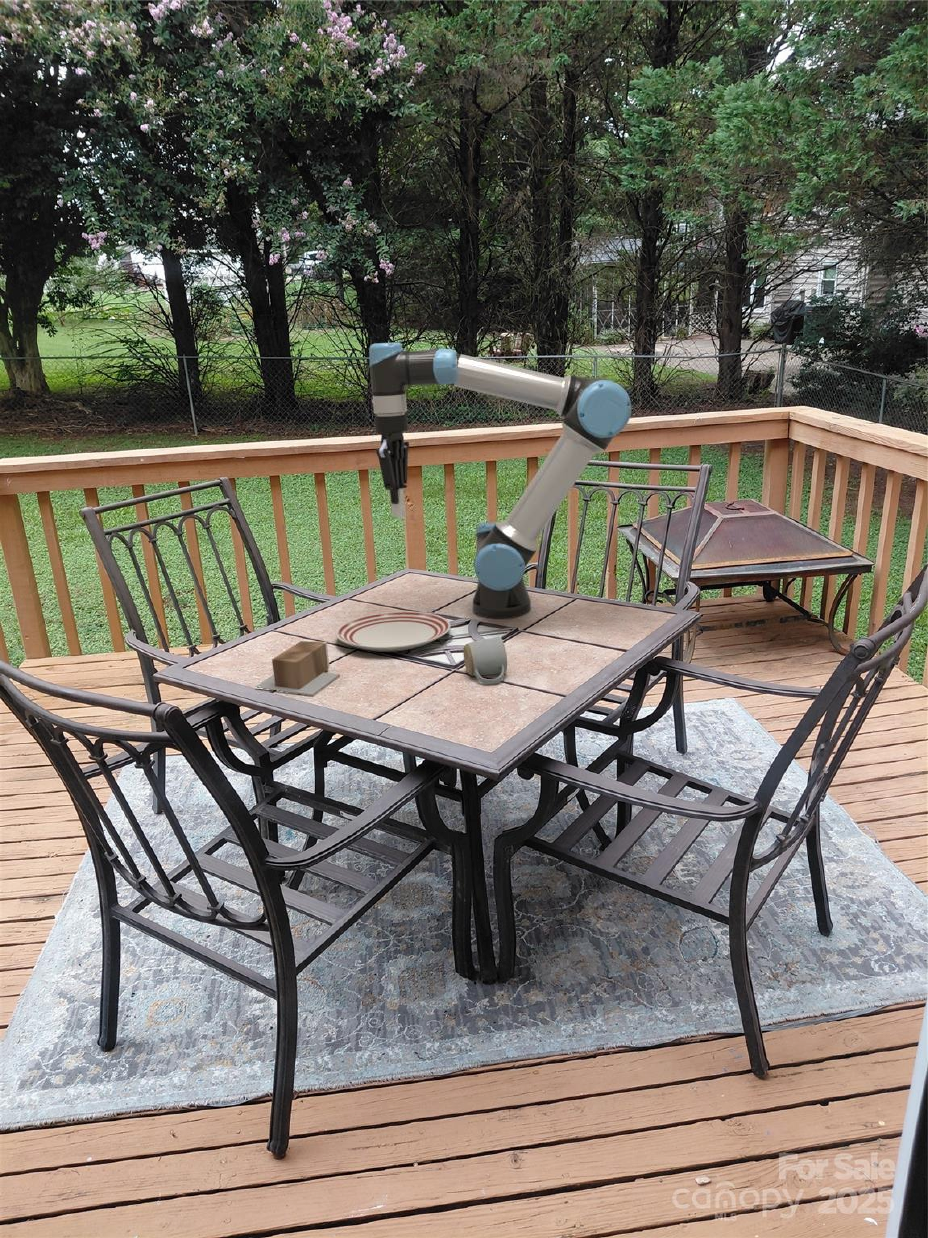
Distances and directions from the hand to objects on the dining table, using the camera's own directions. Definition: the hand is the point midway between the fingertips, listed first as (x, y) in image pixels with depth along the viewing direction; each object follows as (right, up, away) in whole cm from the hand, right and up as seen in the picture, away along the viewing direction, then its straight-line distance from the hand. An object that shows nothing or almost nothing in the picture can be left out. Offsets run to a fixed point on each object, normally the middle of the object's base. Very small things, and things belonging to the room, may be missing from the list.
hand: (398, 516), depth 198 cm
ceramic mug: (+21, -36, -21) cm, 47 cm away
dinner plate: (-1, -29, +3) cm, 30 cm away
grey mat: (-20, -38, -20) cm, 47 cm away
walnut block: (-17, -32, -14) cm, 39 cm away
